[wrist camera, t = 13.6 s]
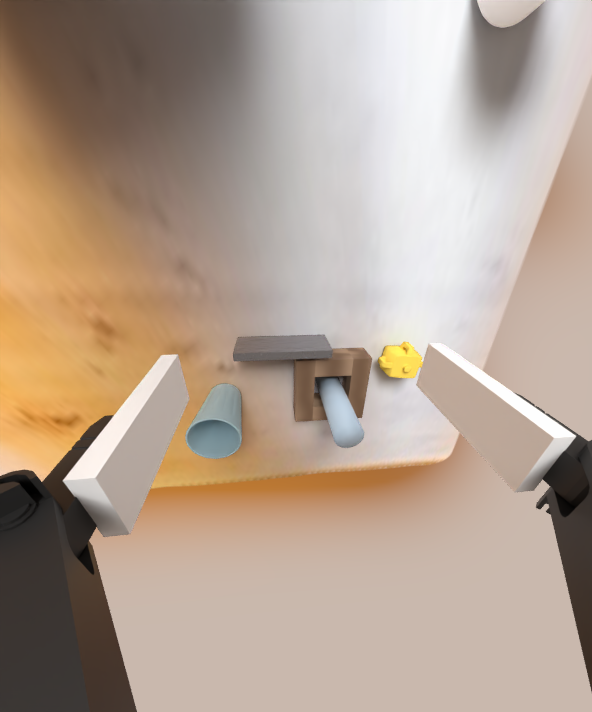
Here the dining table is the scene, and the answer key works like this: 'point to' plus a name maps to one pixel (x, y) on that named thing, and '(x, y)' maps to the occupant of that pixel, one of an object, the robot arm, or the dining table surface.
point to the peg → (339, 412)
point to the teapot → (400, 361)
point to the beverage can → (507, 11)
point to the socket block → (342, 363)
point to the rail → (282, 348)
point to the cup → (217, 424)
